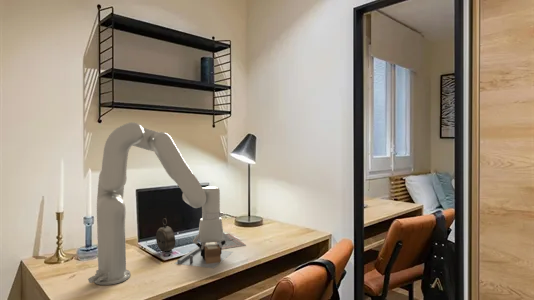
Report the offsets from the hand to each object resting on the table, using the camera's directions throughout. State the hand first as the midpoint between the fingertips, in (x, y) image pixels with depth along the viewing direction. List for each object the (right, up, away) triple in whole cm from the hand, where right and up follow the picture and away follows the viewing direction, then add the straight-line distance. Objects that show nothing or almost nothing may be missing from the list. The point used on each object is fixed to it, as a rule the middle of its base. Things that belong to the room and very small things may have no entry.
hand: (211, 256), depth 144 cm
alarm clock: (-23, -2, +10) cm, 25 cm away
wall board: (-3, -2, +1) cm, 3 cm away
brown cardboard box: (0, -1, 0) cm, 1 cm away
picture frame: (+2, -2, +23) cm, 23 cm away
